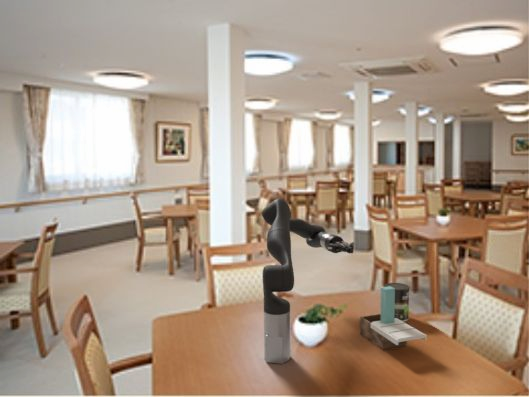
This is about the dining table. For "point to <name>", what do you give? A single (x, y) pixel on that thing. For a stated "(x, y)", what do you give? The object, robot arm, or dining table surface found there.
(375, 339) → the tub
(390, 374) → the dining table surface
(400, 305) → the coffee can
